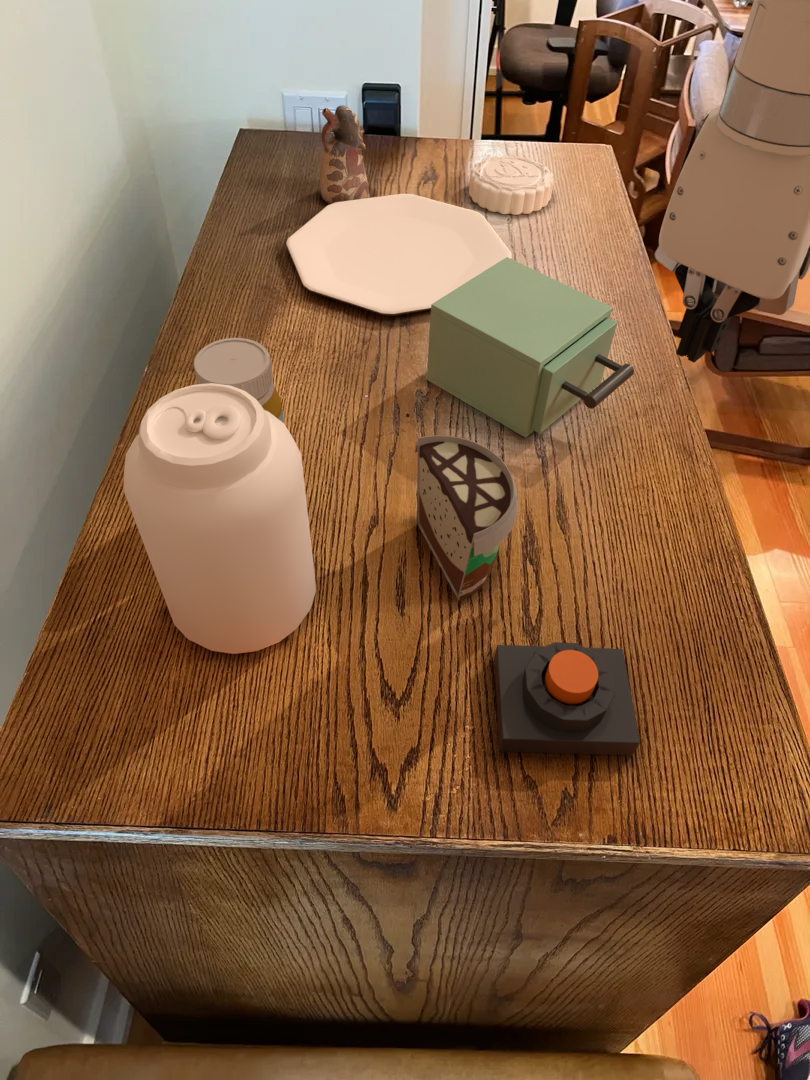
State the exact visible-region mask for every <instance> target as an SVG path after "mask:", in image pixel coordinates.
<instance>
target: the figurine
mask: <svg viewBox="0 0 810 1080" xmlns="http://www.w3.org/2000/svg"><path fill="white" fill-rule="evenodd" d="M334 112H335V113H333V112H332V111H331V109H329V108H328V107H324V108H323V109H322V110H321V114H322V116H323V117H324V118H325V120H326V123H325V124H324V125H323V127H322V128H321V142H322V145H323V147H324V148H323V151H322V155H321V160H320V167H319V169H320V170H319V181H318V182H319V186H318V187H319V193H320V196H321V198H322V199H323V201H325V202H326V203H327V204H328V205H330V204H333V203H335V202H343V201H350V200H358V199H365V198H371V195H370V189H369V182H368V178H367V172H366V167H365V162H364V156H363V154H362V150H366V144H365V143H364V140H363V135H364V133H365V129H364V127H363V126H362V125H361V124H360V120H359V117H358V115H357V114H356V113H355V112H354V110H352V109H351V108H349V107H348V106H347V105H343V104H342V105H338V106H337V107H336V108H335V111H334ZM331 133H333V136H332V137H330V138H329V139H328V140H327V137H328V135H329V134H331Z"/></svg>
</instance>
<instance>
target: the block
mask: <svg viewBox="0 0 810 1080" xmlns="http://www.w3.org/2000/svg"><path fill="white" fill-rule="evenodd" d="M564 650H575V651H579V652H582V653H584V654H586V655H587V656H588V657H590V658H591V659H592V660H593V662H594V663H595V665H596V667H597V670H598V680H597V683H596V685H595V687H594V690H593V692H592V694H591V696H590V697H589V698H588V699H587V700H586V701H584V702H582V703H579V704H565V703H562V702H560V701H558V700H557V699H555V698H554V697H553V696H552V695H551V694H550V693H549V691H548V690H547V688H546V685H545V675H546V672H547V669H548V666H549V663H550V660H551V659H552V657H553V656H554V655H556V654H557V653H559V652H561V651H564ZM625 659H626V658H625V654H624V649H623V648H607V647H605V648H604V647H585V646H583V645H581V644H579V643H575V642H551V643H550V644H548V645H545V646H543V645H542V646H541V645H516V644H515V645H513V644H511V645H510V644H497V645H496V649H495V652H494V657H493V668H494V685H495V700H496V702H495V703H496V717H497V719H496V720H497V735H498V750H499V752H503V753H530V754H531V753H534V754H535V753H536V754H563V755H565V754H567V755H568V754H569V755H594V756H595V755H599V756H600V755H601V756H627V757H628V756H629V757H631V756H634V754H635V753H636V751H637V749H638V747H639V746H640V744H641V741H640V735H639V729H638V725H637V719H636V713H635V709H634V704H633V703H634V701H633V697H632V693H631V685H630V682H629V681H630V680H629V675H628V671H627V665H626V660H625Z"/></svg>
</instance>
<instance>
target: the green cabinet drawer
mask: <svg viewBox="0 0 810 1080" xmlns="http://www.w3.org/2000/svg"><path fill="white" fill-rule="evenodd" d="M617 326H618V321H616V320H614V319H612V318H611V317H610V318H607V319H605V320H604V321H603V322H602V323H600V324H599V325H598V326H596V327H595V328H594V329H592V330H591V331H590V332H589V331H588V332H587V333H585V334H584V335H583V336H581V337H580V338H579V339H577V340H576V341H575V342H574V343H572V344H571V345H570V346H568V347H567V348H566V349H564V350H563V351H562V352H561V353H559V354H558V355H557V356H555V357H554V358H553V359H551V360H550V361H549V362H548V363H546V364H545V365H544V367H543V370H542V375H541V380H540V385H539V390H538V395H537V400H536V405H535V410H534V415H533V420H532V425H531V429H532V430H534V431H533V432H535V433H537V434H539V435H540V434H542V433H543V432H544V431H545V430H546V429H547V428H549V427H550V426H551V425H553V423H555V422H556V421H557V420H558V419H560V418H561V417H562V416H563V415H564V414H565V413H566V412H568V411H569V410H570V409H572V407H574V406H575V405H576V404H577V403H579V402H580V401H581V400H583V404H584V405H585V407H586V408H587V409H591V410H592V409H595V408H596V407H597V406H598V405H600V404H601V403H602V402H603V401H604V400H606V399H607V398H608V397H609V396H610V395H611V394H612V393H614V392H615V391H616V390H617V389H618V388H620V387H621V386H622V385H623V384H625V382H627V380H629V379H630V378H631V377H632V376H633V375H634V373H635V369H634V367H633V365H631V364H630V363H624V364H620V363H618V362H616V361H613V360H612V359H610V358H609V354H610V351H611V347H612V343H613V340H614V336H615V333H616V329H617ZM606 368H608V369H609V370H612V371H613V372H612V373H611V374H610V376H608V377H607V378H606V379H604V380H603V381H602V379H603V376H604V372H605V369H606Z"/></svg>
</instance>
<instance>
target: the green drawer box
mask: <svg viewBox="0 0 810 1080" xmlns="http://www.w3.org/2000/svg"><path fill="white" fill-rule="evenodd" d="M612 311H613V306H612V305H609V304H607V303H605V302H603V301H601V300H598V299H596V298H594V297H593V296H590V295H588V294H587V293H584V292H582V291H580V290H578V289H575V288H573V287H571V286H569V285H567V284H566V283H563V282H561V281H559V280H557V279H555V278H552V277H551V276H548V275H546V274H544V273H542V272H540V271H538V270H535V269H533V268H531V267H529V266H528V265H525V264H522V263H521V262H518V261H517V260H514V259H512V258H511V259H510V258H508V257H506V258H504V259H503V260H501V261H500V262H498V263H496V264H495V265H493V266H492V267H490V268H488V269H487V270H485V271H484V272H482V273H480V274H479V275H477V276H476V277H474V278H472V279H471V280H469V281H468V282H466V283H464V284H463V285H461V286H460V287H458V288H457V289H455V290H453V291H452V292H450V293H449V294H447V295H445V296H444V297H442V298H441V299H439V300H437V301H436V302H434V303H433V304H431V309H430V316H429V318H430V319H429V332H428V333H429V335H428V353H427V369H426V370H427V372H426V381H428V382H430V383H431V384H433V385H435V386H437V387H438V388H440V389H442V390H443V391H446V392H447V393H449V394H451V395H452V396H454V397H455V398H457V399H458V400H460V401H461V402H464V403H465V404H467V405H469V406H470V407H472V408H474V409H476V410H477V411H478V412H480V413H483V414H484V415H485V416H487V417H489V418H490V419H492V420H495V422H498V423H499V424H501V425H503V426H504V427H506V428H508V429H509V430H511V431H513V432H515V433H517V434H518V435H520V436H521V437H523V438H524V439H526V438H528V436H530V435H531V434H532V433H533V432H535V431H534V430H532V429H531V425H532V420H533V415H534V410H535V405H536V400H537V395H538V390H539V385H540V380H541V375H542V370H543V367H544V365H545V364H546V363H548V362H549V361H550V360H551V359H553V358H554V357H555V356H557V355H558V354H559V353H561V352H562V351H563V350H564V349H566V348H567V347H568V346H570V345H571V344H572V343H574V342H575V341H576V340H577V339H579V338H580V337H581V336H583V335H584V334H585V333H587V332H588V331H589V332H590V331H591V330H592V329H594V328H595V327H596V326H598V325H599V324H600V323H602V322H603V321H604V320H605V319H607V318H610V319H611V316H612Z"/></svg>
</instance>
